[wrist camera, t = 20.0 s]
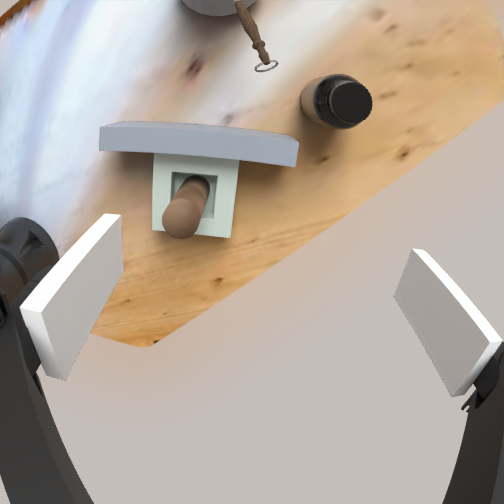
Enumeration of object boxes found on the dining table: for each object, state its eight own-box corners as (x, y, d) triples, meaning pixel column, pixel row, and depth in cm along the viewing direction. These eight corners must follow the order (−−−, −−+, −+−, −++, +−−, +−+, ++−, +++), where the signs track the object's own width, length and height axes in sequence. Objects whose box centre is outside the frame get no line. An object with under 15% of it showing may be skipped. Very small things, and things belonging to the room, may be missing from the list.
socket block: (160, 216, 47) (152, 229, 42) (163, 145, 42) (154, 151, 37) (231, 223, 48) (230, 237, 43) (240, 152, 43) (239, 158, 38)
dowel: (181, 200, 44) (161, 236, 33) (182, 173, 42) (162, 201, 31) (208, 203, 44) (197, 240, 33) (211, 176, 42) (200, 205, 32)
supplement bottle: (332, 132, 42) (361, 145, 31) (291, 108, 40) (308, 112, 29) (355, 94, 39) (391, 95, 28) (314, 68, 37) (339, 59, 27)
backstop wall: (121, 141, 41) (99, 150, 34) (122, 121, 40) (99, 127, 33) (286, 155, 43) (295, 167, 36) (289, 134, 42) (299, 142, 35)
